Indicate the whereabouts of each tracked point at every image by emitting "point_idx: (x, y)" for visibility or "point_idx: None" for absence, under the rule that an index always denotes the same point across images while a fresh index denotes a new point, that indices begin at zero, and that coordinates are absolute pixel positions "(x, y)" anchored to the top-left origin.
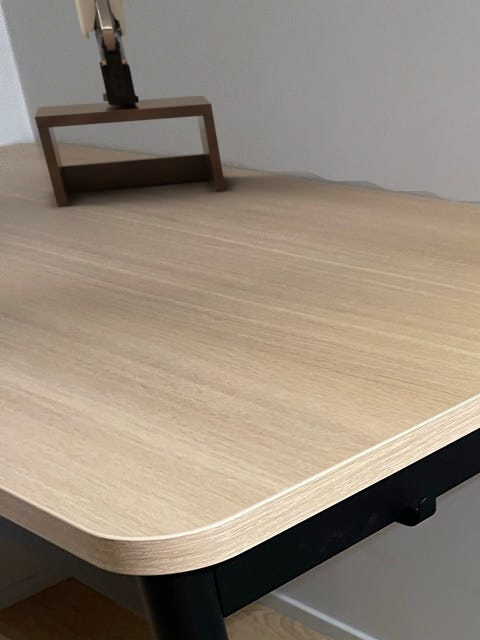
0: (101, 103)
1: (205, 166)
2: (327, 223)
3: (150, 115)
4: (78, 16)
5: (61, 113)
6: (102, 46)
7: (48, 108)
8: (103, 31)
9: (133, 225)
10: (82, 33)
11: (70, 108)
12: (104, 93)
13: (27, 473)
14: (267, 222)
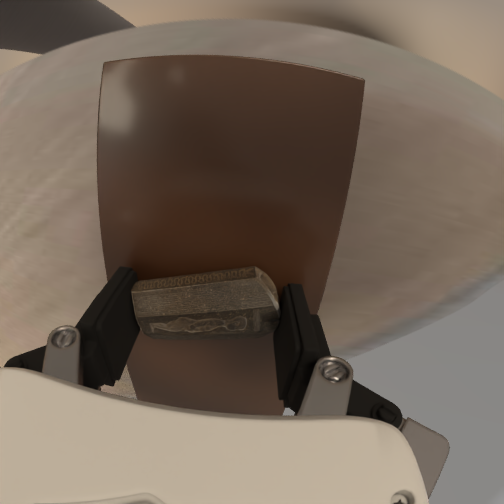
0: (314, 259)
1: None
2: (15, 332)
3: None
4: (16, 445)
5: (125, 130)
6: (10, 363)
7: (304, 98)
8: None
9: (20, 192)
10: (3, 368)
11: (245, 160)
12: (253, 283)
13: None
14: (16, 303)
